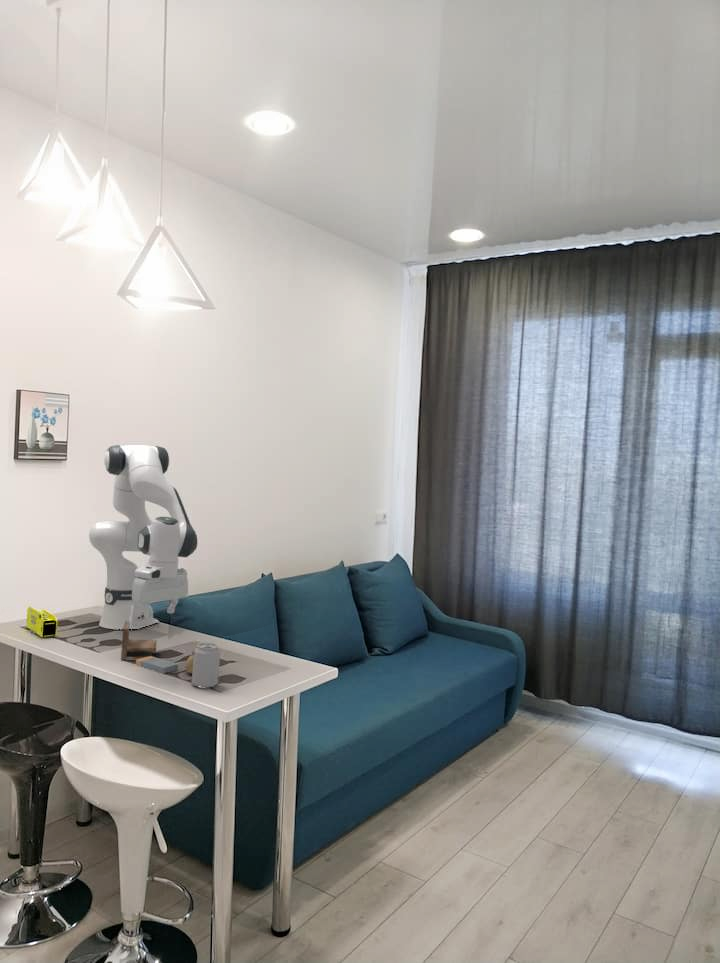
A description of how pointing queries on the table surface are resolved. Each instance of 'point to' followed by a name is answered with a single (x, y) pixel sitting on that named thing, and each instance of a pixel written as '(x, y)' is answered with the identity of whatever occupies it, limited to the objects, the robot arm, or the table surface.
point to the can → (206, 665)
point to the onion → (190, 663)
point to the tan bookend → (135, 644)
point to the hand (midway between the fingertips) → (159, 614)
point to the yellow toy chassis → (41, 622)
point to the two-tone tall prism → (156, 664)
